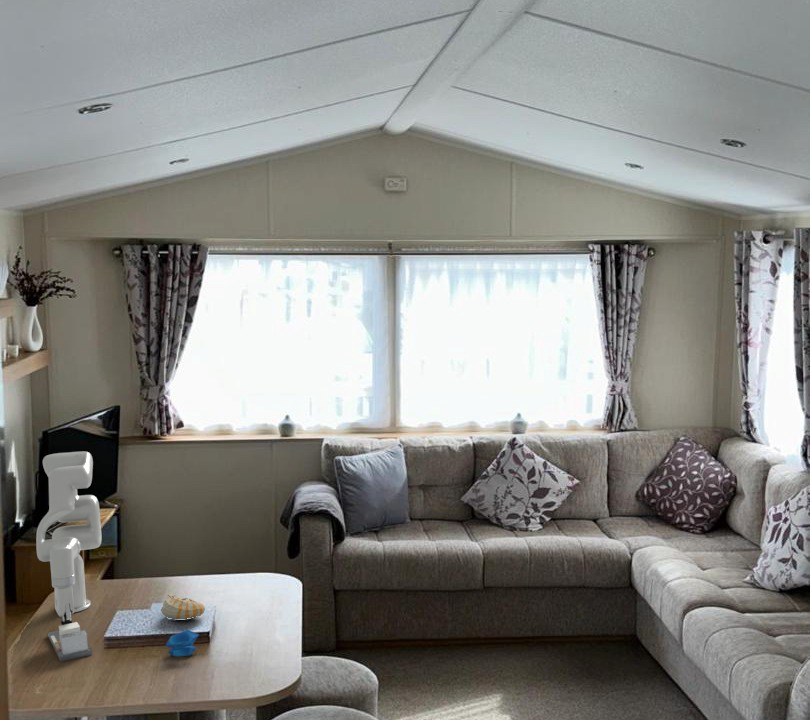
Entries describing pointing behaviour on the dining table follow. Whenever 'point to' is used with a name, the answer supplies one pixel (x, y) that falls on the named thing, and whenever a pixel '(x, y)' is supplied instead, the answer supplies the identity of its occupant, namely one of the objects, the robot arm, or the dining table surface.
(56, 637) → the gauge bench
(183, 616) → the nautilus
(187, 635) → the blue double-lobed piece
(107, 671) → the dining table surface
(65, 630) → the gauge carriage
